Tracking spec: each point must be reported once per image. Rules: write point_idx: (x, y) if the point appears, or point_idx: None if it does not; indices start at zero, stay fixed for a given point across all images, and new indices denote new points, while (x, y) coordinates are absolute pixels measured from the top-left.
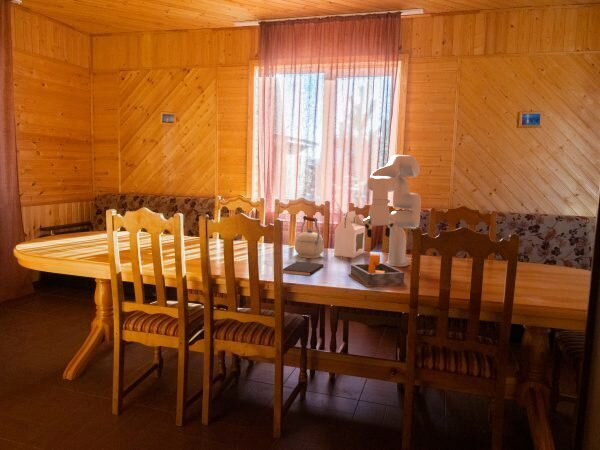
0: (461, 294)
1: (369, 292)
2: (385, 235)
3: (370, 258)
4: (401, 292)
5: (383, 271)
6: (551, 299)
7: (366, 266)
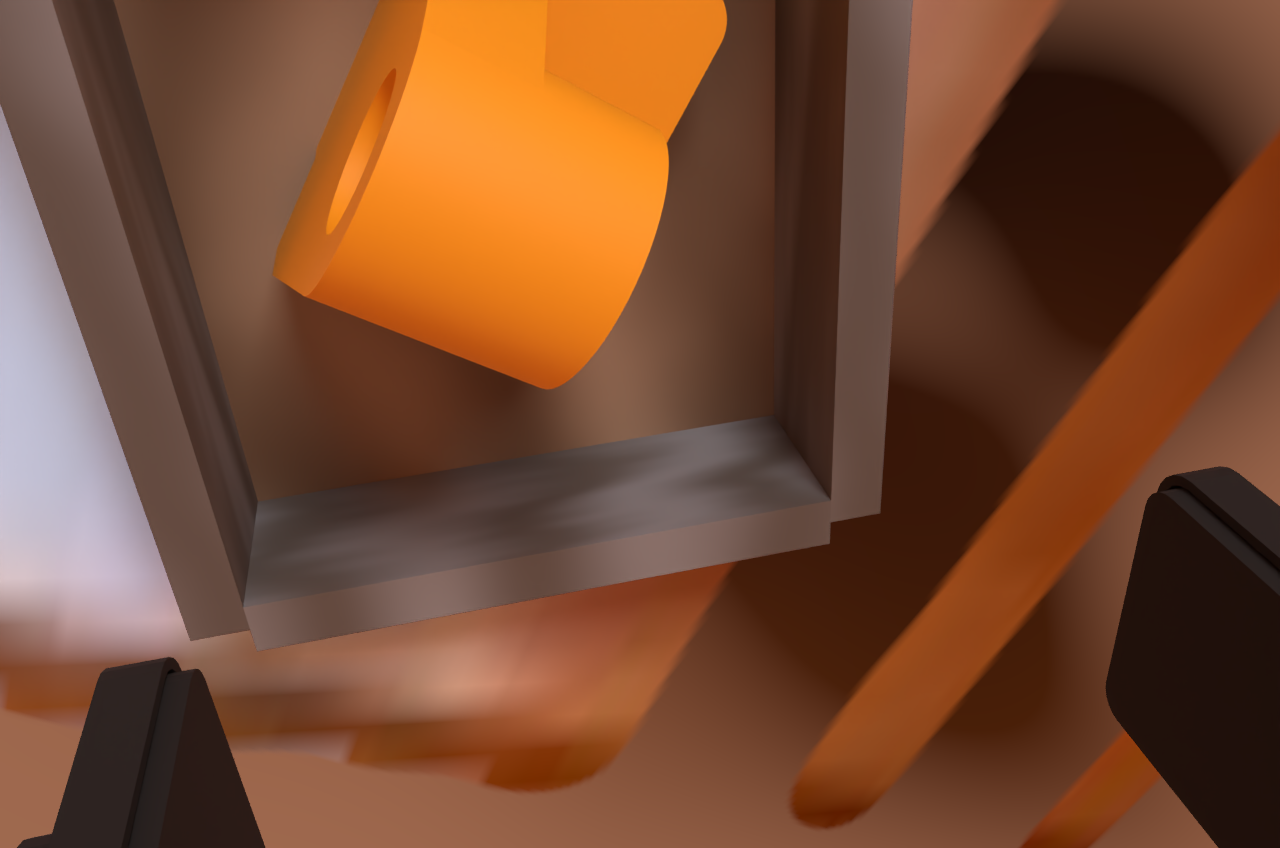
0: None
1: None
2: (1158, 525)
3: (332, 305)
4: (604, 717)
5: (691, 43)
6: None
7: None
